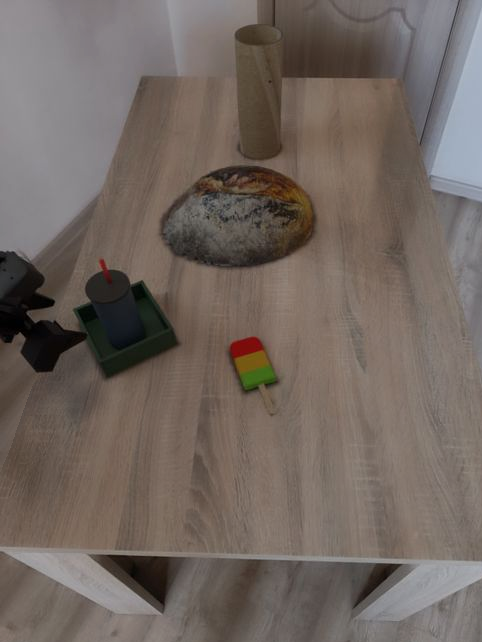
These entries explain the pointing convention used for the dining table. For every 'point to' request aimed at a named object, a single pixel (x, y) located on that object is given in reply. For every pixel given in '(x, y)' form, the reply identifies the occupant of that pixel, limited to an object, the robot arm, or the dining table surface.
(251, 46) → the tube
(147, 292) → the bin
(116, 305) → the cup with straw
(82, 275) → the dining table surface
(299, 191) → the bread
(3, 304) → the robot arm
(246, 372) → the popsicle
